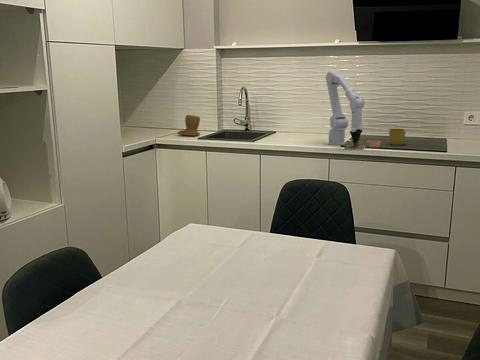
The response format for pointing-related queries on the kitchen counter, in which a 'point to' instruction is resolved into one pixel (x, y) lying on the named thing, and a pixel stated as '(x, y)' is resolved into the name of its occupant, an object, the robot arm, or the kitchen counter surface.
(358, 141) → the lid
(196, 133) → the brown hat
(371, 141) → the bowl
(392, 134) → the flower pot
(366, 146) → the mat
